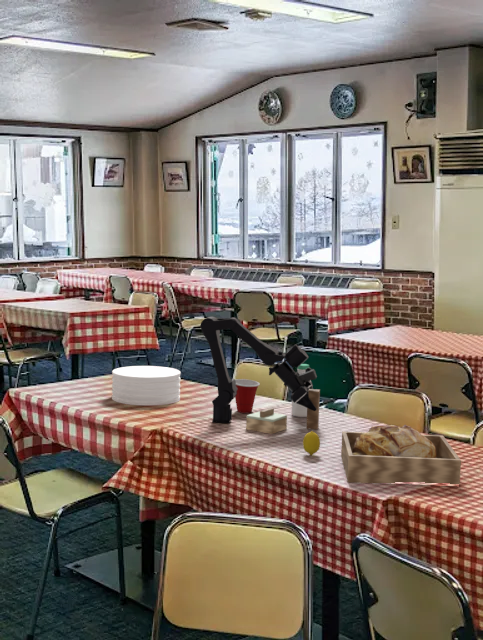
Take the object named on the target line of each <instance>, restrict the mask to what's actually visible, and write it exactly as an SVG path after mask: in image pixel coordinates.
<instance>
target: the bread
mask: <svg viewBox="0 0 483 640" xmlns="http://www.w3.org/2000/svg"><path fill="white" fill-rule="evenodd" d="M423 435H424V434H421V432H420V431H418V430H416V429H414V428H412V426H409V425H407V424H404V425H402V426H397V425H394V424H387V425H374V426H371V427H370V428H369V429H368V431H367V432H366V433H363V434H361V435H360V436H359V437H358V438H356V441H355V445H354V448H353V455H369V456H393V457H417V458H436V448H435V446H434V444H433V443H432V442H431V441H430V440H428V439H427V438H426V437H425V436H423Z"/></svg>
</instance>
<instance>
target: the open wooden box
mask: <svg viewBox="0 0 483 640" xmlns="http://www.w3.org/2000/svg"><path fill="white" fill-rule="evenodd" d="M287 421H288V417H286V418H283V419H280V420H278V421H275V422H269V421H263V420H258V419H252V418H246V421H245V422H246V423H245V425H246V426H245V430H248V431H254V432H258V433H265V434H270V435H273V434H276V433H279V432H282V431H285V430H287V425H288V422H287Z"/></svg>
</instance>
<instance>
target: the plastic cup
mask: <svg viewBox="0 0 483 640" xmlns="http://www.w3.org/2000/svg"><path fill="white" fill-rule="evenodd" d="M235 381H236V387H237V388H238V390H237V394H236V396H235V398H234V399H235V404H236V405H235V406H236V410H237V412H238V413H242V414H247V413H248V414H249V413H250V414H251V413H252V411H253V408H254V403H255V399H256V393H257V390H258V387H259V386H260V382H258V381H256V380H252V379H246V378H241V379H240V378H238V379H235Z"/></svg>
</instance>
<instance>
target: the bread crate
mask: <svg viewBox="0 0 483 640" xmlns="http://www.w3.org/2000/svg"><path fill="white" fill-rule="evenodd" d="M363 433H366V432H365V431H364V432H363V431H361V432H360V431H344V430H343V431H342V432H341V449H340V450H341V453H340V457H341V460H342V464H343V469H344V473H345V478H346V482H347V483H352V484H353V483H355V484H372V483H395V482H425V483H450V484H460V483H461V468H462V467H461V466H462V460H461V458H460V457H459V456H458V454H457V453H456V452H455V450H454V449H453V447H452V445H451V444H450V443H449V442H448V440H447V439H446V438H445V436H444V435H439V434H438V435H437V434H422V435H423V436H425V437H426V438H427V439H428V440H430V441H431V442H432V443H433V444H434V446H435V448H436V458H417V457H393V456H369V455H353V448H354V445H355V441H356V438H358V437H359V436H360V435H361V434H363ZM460 485H461V484H460Z"/></svg>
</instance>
